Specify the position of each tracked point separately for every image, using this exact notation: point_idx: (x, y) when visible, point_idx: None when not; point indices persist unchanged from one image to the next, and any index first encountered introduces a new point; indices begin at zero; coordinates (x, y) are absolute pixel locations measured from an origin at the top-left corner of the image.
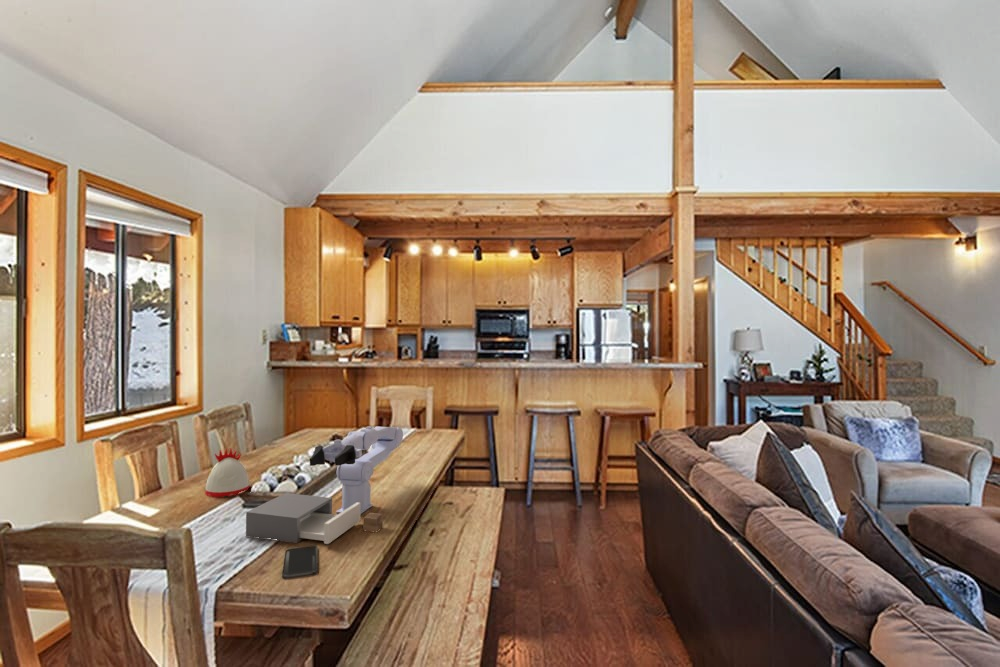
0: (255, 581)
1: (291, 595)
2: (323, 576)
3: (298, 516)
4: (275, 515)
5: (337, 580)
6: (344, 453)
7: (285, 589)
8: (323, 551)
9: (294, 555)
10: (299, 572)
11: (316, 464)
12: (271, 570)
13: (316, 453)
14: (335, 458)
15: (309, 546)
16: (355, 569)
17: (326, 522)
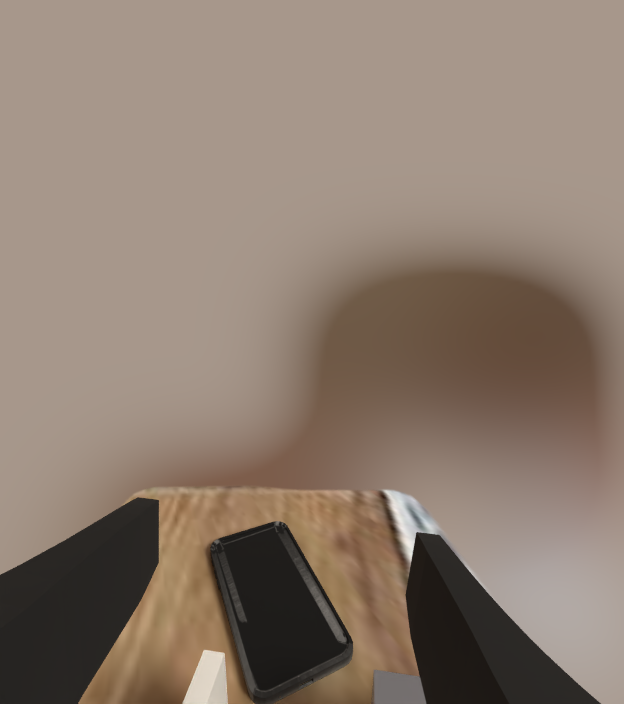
0: (332, 514)
1: (239, 487)
2: (192, 542)
3: (381, 695)
4: None
5: None
6: (11, 573)
7: (258, 499)
8: None
9: (305, 615)
10: (250, 536)
11: (426, 702)
12: (328, 552)
13: (470, 621)
14: (150, 499)
15: (283, 689)
16: None
17: (216, 663)
